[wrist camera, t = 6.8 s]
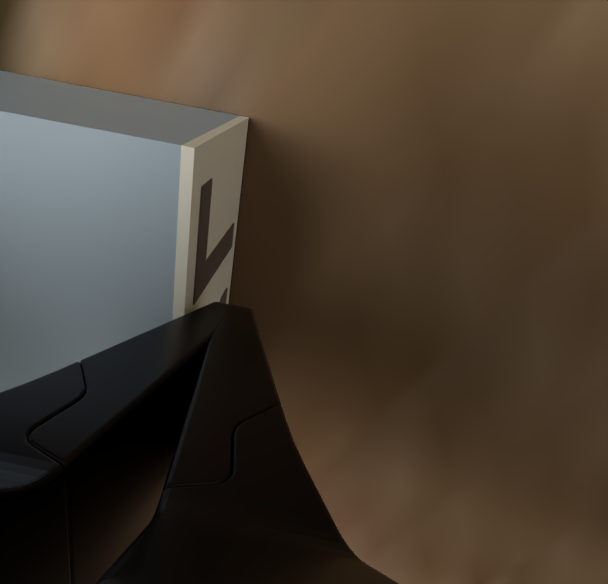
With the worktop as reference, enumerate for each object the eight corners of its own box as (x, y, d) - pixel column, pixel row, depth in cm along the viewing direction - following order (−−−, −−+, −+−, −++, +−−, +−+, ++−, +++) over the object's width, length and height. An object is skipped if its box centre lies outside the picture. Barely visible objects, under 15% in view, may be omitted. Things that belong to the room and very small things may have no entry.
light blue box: (174, 484, 10) (-195, 410, 10) (222, 373, 14) (-53, 319, 14) (196, 148, 7) (-336, 47, 7) (250, 117, 11) (-104, 51, 11)
